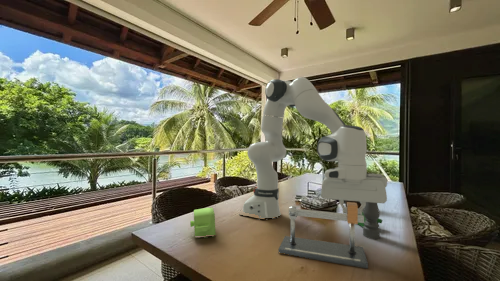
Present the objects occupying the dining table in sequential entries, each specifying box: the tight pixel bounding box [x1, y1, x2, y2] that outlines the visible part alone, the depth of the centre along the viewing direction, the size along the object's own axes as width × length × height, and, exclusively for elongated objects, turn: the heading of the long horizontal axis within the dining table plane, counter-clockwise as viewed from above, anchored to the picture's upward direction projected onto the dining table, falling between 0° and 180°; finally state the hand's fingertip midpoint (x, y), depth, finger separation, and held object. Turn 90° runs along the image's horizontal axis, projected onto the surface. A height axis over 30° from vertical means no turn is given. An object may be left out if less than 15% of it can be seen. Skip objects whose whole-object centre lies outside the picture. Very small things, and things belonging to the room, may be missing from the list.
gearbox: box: [190, 207, 216, 237], centre depth 98 cm, size 18×10×10 cm, turn 14°
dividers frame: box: [288, 205, 364, 244], centre depth 82 cm, size 26×6×14 cm, turn 70°
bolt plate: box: [278, 235, 369, 270], centre depth 81 cm, size 28×12×2 cm, turn 70°
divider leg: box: [346, 202, 359, 252], centre depth 78 cm, size 3×5×16 cm, turn 160°
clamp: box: [357, 211, 383, 228], centre depth 106 cm, size 12×6×9 cm, turn 3°
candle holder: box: [362, 202, 381, 240], centre depth 95 cm, size 6×6×25 cm
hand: (352, 213), depth 77 cm, fingers closed on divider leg, 3 cm apart
